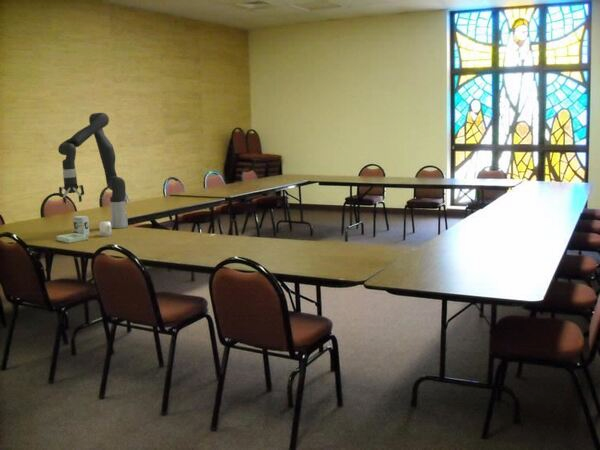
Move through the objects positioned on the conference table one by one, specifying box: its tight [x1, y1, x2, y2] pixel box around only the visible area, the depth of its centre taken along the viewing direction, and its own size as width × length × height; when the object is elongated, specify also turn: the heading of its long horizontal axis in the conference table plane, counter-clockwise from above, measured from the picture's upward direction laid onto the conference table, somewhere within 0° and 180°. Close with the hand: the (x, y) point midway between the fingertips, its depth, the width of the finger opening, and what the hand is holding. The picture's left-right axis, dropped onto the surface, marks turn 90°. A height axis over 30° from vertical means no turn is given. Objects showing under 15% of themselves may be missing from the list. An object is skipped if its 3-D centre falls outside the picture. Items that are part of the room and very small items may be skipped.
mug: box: [98, 221, 113, 237], centre depth 398 cm, size 7×9×8 cm
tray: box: [56, 232, 89, 244], centre depth 386 cm, size 12×16×3 cm
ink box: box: [72, 215, 90, 236], centre depth 401 cm, size 9×5×12 cm, turn 62°
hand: (72, 202), depth 397 cm, fingers open, 8 cm apart
